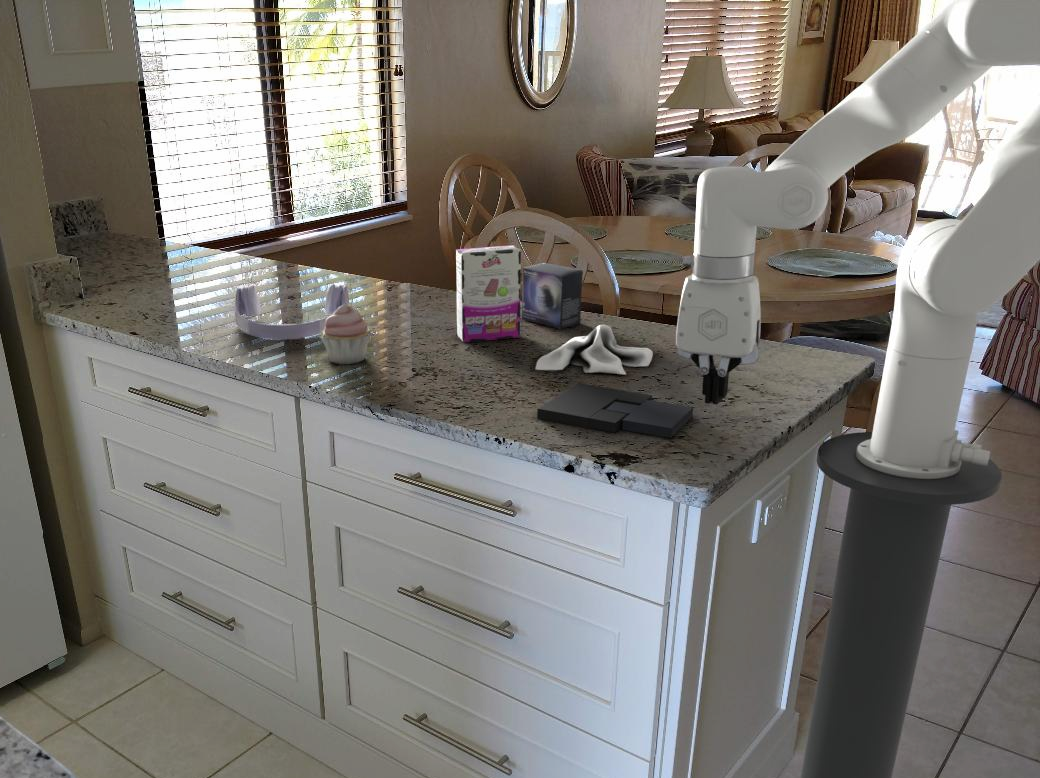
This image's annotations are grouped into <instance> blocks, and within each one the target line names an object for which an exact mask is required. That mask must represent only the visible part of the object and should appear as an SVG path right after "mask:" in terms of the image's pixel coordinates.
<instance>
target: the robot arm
mask: <svg viewBox="0 0 1040 778" xmlns="http://www.w3.org/2000/svg"><path fill="white" fill-rule="evenodd" d="M1035 65H1040V0H953V1H951V2H950V3H949V4H948V5H947V6H946V7H945V8H944V9H943V10H941V11H940V12H939V14H937V15H936V16H935V17H934V18H933V19H932V20H930V21H929V22H928V23H927V24H926V25H925V26H924V27H923V28H922V29H921V30H920V31H919V32H918V33H917V34H916V35H914V37H912V38H911V39H910V40H909V41H908V42H907V43H906V44H904V46H902V47H901V48H900V49H899V50H898V51H897V52H896V53H895V54H894V55H893V56H892V57H890V58H889V59H888V60H887V61H885V63H883V65H882V66H880V67H879V68H878V69H877V70H876V71H875V72H874V73H873V74H871V76H869V77H868V78H866V80H865V81H864V82H863V83H861V84H860V85H859V86H857V87H856V88H855V89H854V90H853V91H851V92H850V93H849V94H848V95H847V96H846V97H844V99H843V100H842V101H840V102H839V103H838V104H837V105H836V106H835V107H833V108H832V109H831V110H830V111H828V112H827V113H826V114H825V115H824V116H822V117H821V118H820V119H819V120H817V121H816V122H815V123H814V124H813V125H812V126H811V127H809V128H808V129H807V130H806V131H805V132H804V133H802V135H800V136H799V137H798V138H797V139H796V140H795V141H794V142H793V143H791V144H790V145H789V147H787V149H785V150H784V151H783V152H782V153H781V154H780V155H779V156H778V157H777V158H776V159H774V160H773V161H772V162H771V164H769V165H768V166H767V168H766V169H765V170H764V171H763V170H762V171H758V170H756V169H755V168H753V167H749V166H739V165H738V166H737V165H736V166H735V165H731V166H717V167H712V168H711V167H710V168H708V169H705V170H704V171H703V172H702V173H701V174H700V175H699V177H698V180H697V189H696V206H695V207H696V208H695V226H694V227H695V228H694V240H693V241H694V242H693V244H694V245H693V253H692V254H689V255H684V256H683V258H682V266H683V267H688V268H690V273H691V274H690V275H687V276H685V280H684V283H683V288H682V291H681V297H680V301H679V302H680V304H679V309H678V316H677V323H676V331H675V333H676V334H675V346H676V348H677V350H676V354H677V355H678V356H679V357H682V358H684V359H688V360H690V361H692V362H693V363H694V364H695V365H696V367H697V368H698V369H699V372H700V374H701V375H702V386H701V387H702V388H701V395H703V396H704V404H712V405H716V406H717V405H718V404H720V403H721V402H722V401H723V400H724V398H726V397H727V396H728V392H729V391H728V390H729V376H730V373H731V372H732V371H733V370H735V369H736V368H737V367H738V366H745V365H746V366H747V365H753V364H756V363H757V362H758V361H760V355H759V350H758V347H759V344H760V339H761V325H762V312H761V311H762V309H761V308H762V307H761V293H760V284H759V278H758V276H755V275H754V267H755V257H756V256H755V255H756V241H757V228H758V227H762V228H770V229H777V230H788V231H789V230H790V231H791V230H798V229H803V228H807V227H808V226H810V225H813V223H815V222H816V221H817V220H818V219H820V217H821V216H822V215H823V214H824V212H825V211H826V208H827V205H828V201H829V191H828V188H830V187H831V186H832V185H833V184H834V183H836V182H837V181H838V180H839V179H840V178H841V177H842V176H844V175H845V174H847V173H848V172H849V171H850V170H851V169H852V168H854V167H855V166H857V165H858V164H859V163H861V162H862V161H864V160H865V159H866V158H867V157H870V156H871V155H872V154H875V153H876V152H878V151H881V150H882V149H885V148H887V147H890V146H893V145H896V144H898V143H900V142H902V141H904V140H905V139H907V138H909V137H910V136H912V135H914V134H916V133H917V132H919V131H920V130H921V129H922V128H923V127H924V126H926V125H927V123H929V122H930V121H931V120H932V119H933V118H935V116H937V115H938V114H939V113H940V112H941V111H942V110H943V109H944V108H945V107H947V106H948V105H949V104H950V103H952V102H953V100H955V99H956V98H957V97H958V96H960V95H961V94H962V93H963V92H964V91H965V90H966V89H968V88H969V87H970V86H971V85H972V84H974V83H975V82H976V81H977V80H978V79H979V78H981V77H982V76H983V75H984V74H985V73H987V72H988V71H989V70H990V69H991V68H992V67H1010V66H1035ZM968 192H969V193H968V195H969V197H970V202H971V204H972V207H971V209H970V210H969V211H968V212H967V214H965V216H964V217H963V218H962V219H955V218H943V219H936V220H932V221H931V222H927V223H926V224H924V225H922V226H921V227H919V228H918V229H916V231H914V232H913V233H912V234H911V235H910V236H909V238H908V239H907V241H906V242H905V243H904V246H903V247H902V250H901V252H900V254H899V259H898V263H897V268H896V269H897V270H896V278H895V279H896V282H895V295H894V304H893V305H894V306H893V314H892V321H891V327H890V332H889V339H888V344H887V347H886V348H887V349H886V354H885V360H884V366H883V371H882V378H881V382H880V389H879V392H878V399H877V403H876V404H877V405H876V409H875V410H876V412H875V416H874V422H873V428H872V431H871V432H872V438H871V439H869V440H866V441H864V442H862V443H860V444H859V445H858V447H857V450H856V457H857V459H858V460H859V461H860V462H861V463H863V464H864V465H866V466H868V467H870V468H872V469H874V470H877V471H879V472H882V473H886V474H889V475H894V476H899V477H905V478H913V479H939V478H946V477H949V476H952V475H954V474H956V473H957V472H958V471H959V470H960V467H961V461H966V462H972V463H973V464H979V465H984V466H987V464H988V460H989V459H990V456H991V450H986V449H982V444H975V443H966V442H963V441H962V439H958V436H959V430H958V429H956V426H957V421H958V415H959V412H960V406H961V402H962V398H963V393H964V388H965V385H966V378H967V374H968V371H969V370H968V369H969V365H970V359H971V356H972V352H973V347H974V343H975V338H976V333H977V326H978V319H979V317H978V316H979V314H980V313H981V312H984V311H985V310H987V309H989V308H991V307H992V306H994V305H995V304H996V303H998V302H999V301H1001V300H1002V299H1003V298H1004V297H1005V296H1006V295H1007V294H1008V293H1009V292H1010V291H1011V290H1012V289H1013V288H1015V287H1016V285H1017V284H1018V283H1020V281H1021V280H1022V279H1023V278H1024V277H1025V276H1026V274H1028V273H1029V272H1030V270H1032V269H1033V267H1034V266H1035V265H1036V264H1037V263H1038V262H1039V261H1040V94H1039V95H1038V96H1037V98H1036V99H1035V101H1034V102H1033V103H1032V105H1031V106H1029V108H1028V110H1027V111H1026V112H1025V113H1024V115H1023V116H1021V118H1020V119H1019V120H1018V121H1017V122H1016V123H1015V124H1014V126H1013V127H1012V129H1010V130H1009V132H1007V133H1006V135H1005V136H1004V138H1003V139H1002V140H1001V141H1000V142H999V143H998V144H997V145H996V147H994V149H993V150H992V151H991V152H990V153H989V154H988V155H987V156H986V157H985V158H984V159H983V161H982V162H981V163H980V164H979V165H978V167H977V168H976V169H975V171H974V173H973V175H972V177H971V179H970V182H969V188H968ZM716 357H720V358H719V363H718V368H717V367H716V360H715V359H716Z"/></svg>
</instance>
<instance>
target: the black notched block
mask: <svg viewBox="0 0 1040 778" xmlns="http://www.w3.org/2000/svg"><path fill="white" fill-rule="evenodd" d="M646 400H651V401H653V395H652V394H647V393H641V392H637V391H636V392H635V391H629V390H623V389H619V388H618V389H617V388H612V387H606V386H599V385H596V384H595V385H594V384H589V383H584V382H583V383H582V382H577V383H575V384H574V385H573V386H571V387H569V388H568V389H566V390H565V391H563V392H561V393H560V394H558V395H556V396H555V397H554V398H552V399H550V400H548V401H547V402H546V403H543V404H542V405H540V406H539V407H538V408H537V411H536V418H537V419H540V420H545V421H550V422H554V423H555V422H556V423H560V424H567V425H571V426H577V427H582V428H586V429H594V430H598V431H604V432H608V433H613V434H615V433H617V431H619V430H620V429H622V421H623V419H624V418H626V417H627V414H625V413H620V412H614V411H608V410H605V409H607V408H608V407H609V406H611V405H612V404H613V403H614V402H620V403H627V404H633V405H639V406H640V405H641V404H642V403H643V402H645V401H646Z"/></svg>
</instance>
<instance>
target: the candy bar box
mask: <svg viewBox="0 0 1040 778" xmlns="http://www.w3.org/2000/svg"><path fill="white" fill-rule="evenodd" d="M455 252H456V253H455V262H456V263H455V264H456V265H455V266H456V335H457V337H458V339H459V340H460V341H461V342H462V343H471V342H473V343H474V342H484V341H495V340H506V339H507V340H508V339H509V340H510V339H518V338H521V281H522V280H521V279H522V277H521V276H522V273H521V272H522V271H521V269H522V268H521V267H522V266H521V265H522V263H521V262H522V249H520V248H519V247H517V246H516V245H501V246H500V245H499V246H486V247H473V248H459V249H456V250H455Z"/></svg>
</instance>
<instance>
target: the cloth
mask: <svg viewBox="0 0 1040 778" xmlns="http://www.w3.org/2000/svg"><path fill="white" fill-rule="evenodd" d="M653 353H654V352H653V350H651V348H648V347H633V346H621V345H619V344H617V340H616V337H615V335H614V333H613V329H612V327H611V326H610V325H607V324H599V325H597V326H596V327H595V328H594V329H592V331H590V332H589V333H588V334H587V335H583V336H575V337H573V338H571V339H569V340H568V341H567V342H566V343H564V344H562V345H561V346H559V347H558V348H556V349H553V350H552V351H551V352H549V353H547V354H545V355H542V356H541V357H540V358H539V359H537V361H536V364H535V369H534V370H536V371H563V370H564V369H565V368H566V367H567V366H568V365H569V364H570V365H572V366H579V367H582V368H583V372H584V373H585V374H588V373H589V374H593V373H603V374H617V375H625V376H626V375H627V372H626V371H625V370H624V368H623V366H624V367H633V368H636V367H649V366H650V363H651V362H652V360H653V359H652V358H653V355H654V354H653Z"/></svg>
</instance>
